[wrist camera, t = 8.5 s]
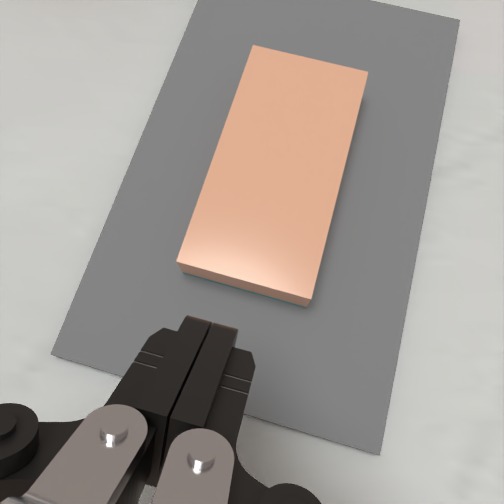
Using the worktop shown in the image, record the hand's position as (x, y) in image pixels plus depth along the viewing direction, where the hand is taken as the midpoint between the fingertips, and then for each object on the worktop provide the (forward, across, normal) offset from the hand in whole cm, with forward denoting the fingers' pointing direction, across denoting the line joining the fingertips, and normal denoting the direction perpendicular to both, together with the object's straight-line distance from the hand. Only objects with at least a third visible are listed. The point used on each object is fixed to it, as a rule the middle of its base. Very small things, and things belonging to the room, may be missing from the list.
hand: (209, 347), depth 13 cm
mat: (+13, 0, +2) cm, 13 cm away
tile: (+7, 0, -2) cm, 8 cm away
